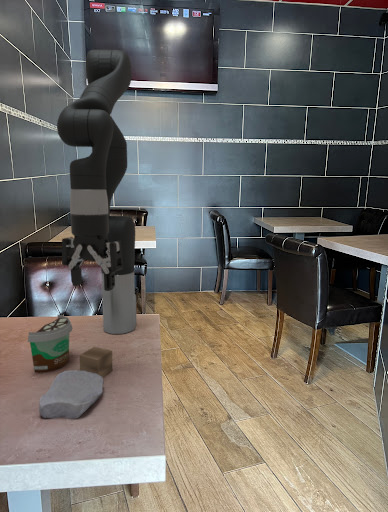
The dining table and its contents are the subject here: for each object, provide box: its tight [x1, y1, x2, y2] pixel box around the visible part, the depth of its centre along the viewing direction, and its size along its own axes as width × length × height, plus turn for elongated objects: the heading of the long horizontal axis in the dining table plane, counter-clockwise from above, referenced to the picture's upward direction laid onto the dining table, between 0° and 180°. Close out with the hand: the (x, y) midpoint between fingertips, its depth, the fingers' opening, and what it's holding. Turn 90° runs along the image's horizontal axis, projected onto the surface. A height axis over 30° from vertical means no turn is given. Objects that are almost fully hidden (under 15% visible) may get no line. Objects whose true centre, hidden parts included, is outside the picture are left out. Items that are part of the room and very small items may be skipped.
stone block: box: [38, 369, 105, 420], centre depth 71 cm, size 12×5×10 cm
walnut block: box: [78, 346, 113, 379], centre depth 81 cm, size 5×5×5 cm
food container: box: [27, 314, 73, 374], centre depth 85 cm, size 12×6×10 cm, turn 168°
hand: (92, 287), depth 78 cm, fingers open, 8 cm apart
